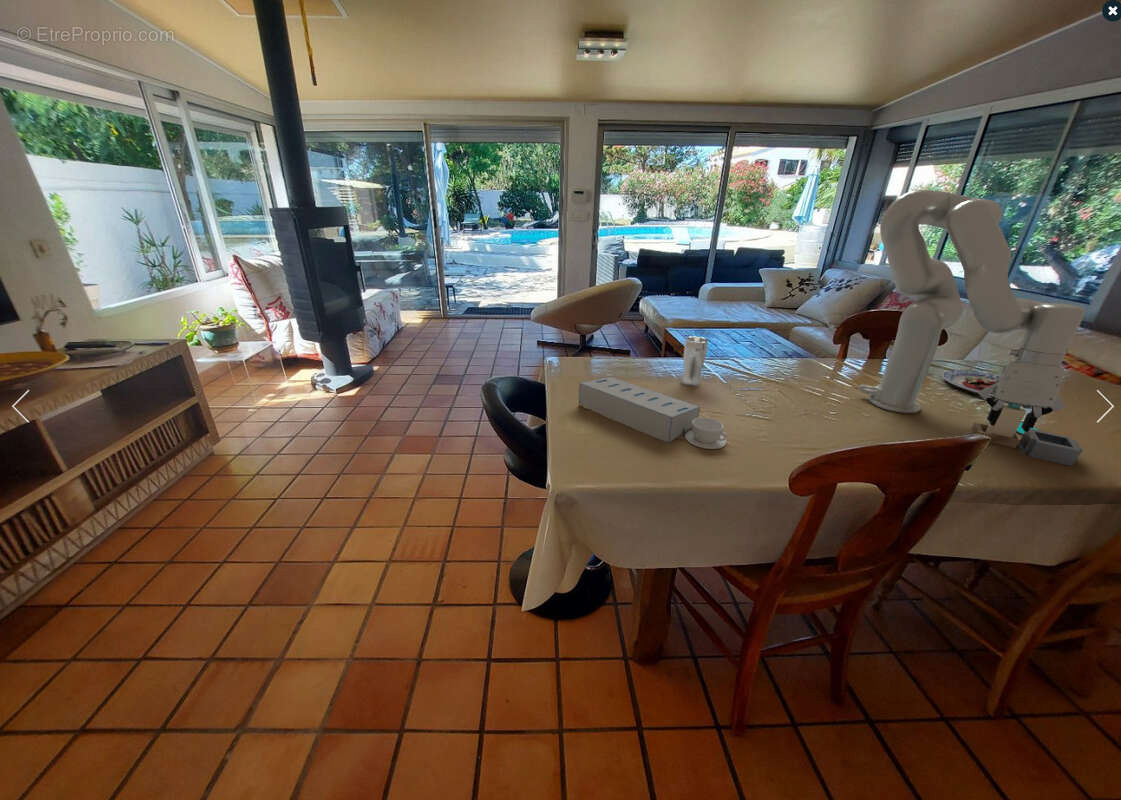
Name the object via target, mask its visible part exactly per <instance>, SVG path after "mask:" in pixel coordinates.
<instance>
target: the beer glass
mask: <svg viewBox="0 0 1121 800" xmlns="http://www.w3.org/2000/svg"><path fill="white" fill-rule="evenodd" d="M685 340H686V341H685V344H684V348H683V349H684V350H683V375H682V376H681V377H682V378H681V380H680V382H681V384H683V385H685V386H687V387H688V386H689V387H698V386H700V385H701V373H702V369H703V366H704V363H705V360H706V357H707V351H708V342H709V340H708V339H707V338H705V337H702V336H688V337H687V338H686V339H685Z"/></svg>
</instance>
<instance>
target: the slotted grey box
mask: <svg viewBox="0 0 1121 800" xmlns="http://www.w3.org/2000/svg"><path fill="white" fill-rule="evenodd" d="M578 389H579V390H578V393H579V394H578V405H579V404H580V405H582V406H585V407H587V408H589V409H591V410H594V411H596V412H598V413H600V414H603V415H605V416H607V417H609V418H608V419H610V418H611V419H610V420H612V419H614V420H613V421H615V420H616V421H615V422H617V421H618V423H619V422H620V423H619V424H622V423H623V425H624V424H625V426H627V427H629V426H630V427H629V428H631V427H632V428H631V429H634V430H637V431H639V432H642V433H643V434H647V435H648V436H650V437H653V438H656V439H658V440H660V441H663V442H665V443H668V444H670V442H672V441H673V440H675V439H677V438H678V437H680V436H681V435H683V433H684V434H685V433H686V432H688V431H690V429H692V421H693V420H694V419H695V418H699V416H700V415H699V413H700V409H701V408H700V407H701V406H699V405H696V404H693V403H690V402H687V401H684V400H681V399H679V398H676V397H672V396H669V395H668V394H667V395H666V394H663V393H661V392H657V391H655V390H651V389H648V388H646V387H644V386H643V387H642V386H640V385H636V384H633V383H630V382H628V381H624V380H622V379H619V378H617V377H616V378H615V377H613V376H607V377H602V378H598V379H594V380H592V379H591V380H588V381H584V382H580V383H579V388H578ZM591 410H590V411H591ZM598 413H597V414H598ZM600 414H599V415H600ZM603 415H602V416H603ZM605 416H604V417H605ZM607 417H606V418H607Z"/></svg>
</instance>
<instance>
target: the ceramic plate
mask: <svg viewBox="0 0 1121 800" xmlns="http://www.w3.org/2000/svg"><path fill="white" fill-rule="evenodd" d="M999 376H1000V374H995V373H994V374H993V373H989V372H982V371H974V370H961V369H959V370H956V369H955V370H954V369H953V370H947V371H944V372H943V373H941V377H942V379H944V380H945V381H946V382H948V383H949V384H952V385H954V386H956V387H959V388H962V389H964V390H966V391H968V392H971V393H974V394H976V393H977V395H979V391H981V390H983V389H985V388H987V387H989V386H991V385H993V384H995V383H996V381H997V379H998V377H999ZM989 396H990V397H991V398H992V399H993V398H994V399H996V398H995V396H994V394H993V393H990V394H989Z"/></svg>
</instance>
